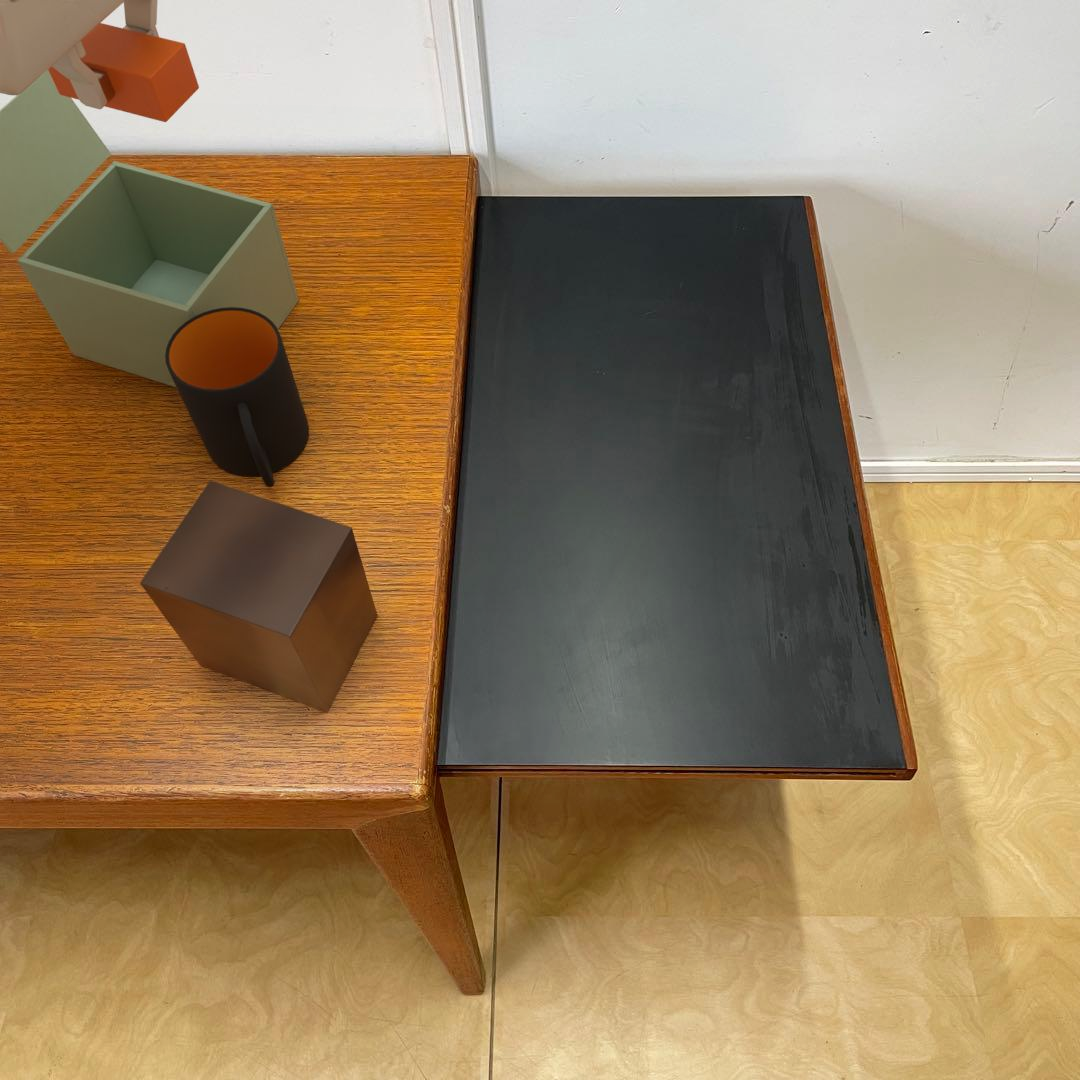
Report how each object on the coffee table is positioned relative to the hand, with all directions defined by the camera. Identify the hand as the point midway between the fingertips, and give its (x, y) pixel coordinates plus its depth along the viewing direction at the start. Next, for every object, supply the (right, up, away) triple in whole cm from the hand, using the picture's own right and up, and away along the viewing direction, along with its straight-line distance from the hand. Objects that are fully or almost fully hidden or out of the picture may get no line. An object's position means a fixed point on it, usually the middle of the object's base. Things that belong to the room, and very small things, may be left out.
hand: (123, 78), depth 59 cm
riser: (+9, -37, +7) cm, 38 cm away
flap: (-12, 0, +12) cm, 17 cm away
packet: (0, 0, +1) cm, 1 cm away
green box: (-4, -11, +23) cm, 25 cm away
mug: (+4, -23, +16) cm, 28 cm away
